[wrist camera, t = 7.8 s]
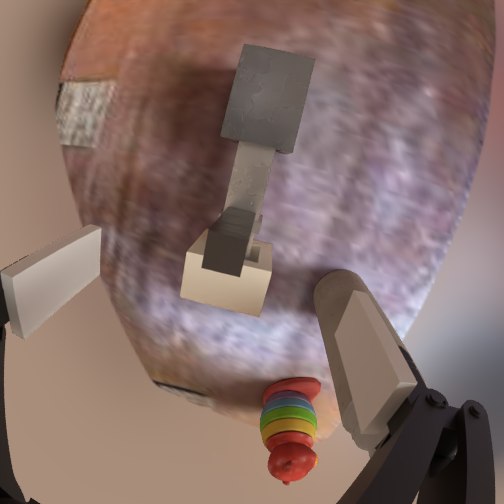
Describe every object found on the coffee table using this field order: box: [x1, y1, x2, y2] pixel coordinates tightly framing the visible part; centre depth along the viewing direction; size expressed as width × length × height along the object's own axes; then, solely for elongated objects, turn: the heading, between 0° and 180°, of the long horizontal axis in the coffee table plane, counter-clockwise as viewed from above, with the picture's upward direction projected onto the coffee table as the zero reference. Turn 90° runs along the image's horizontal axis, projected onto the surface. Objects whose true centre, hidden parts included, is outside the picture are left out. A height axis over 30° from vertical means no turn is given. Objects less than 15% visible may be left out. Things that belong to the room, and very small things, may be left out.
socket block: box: [180, 229, 272, 317], centre depth 35 cm, size 6×9×10 cm, turn 77°
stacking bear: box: [260, 378, 321, 485], centre depth 40 cm, size 11×10×18 cm
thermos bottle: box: [313, 270, 428, 458], centre depth 28 cm, size 8×8×28 cm
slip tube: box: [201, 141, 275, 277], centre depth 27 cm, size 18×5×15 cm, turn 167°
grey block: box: [220, 44, 315, 154], centre depth 29 cm, size 10×7×10 cm
